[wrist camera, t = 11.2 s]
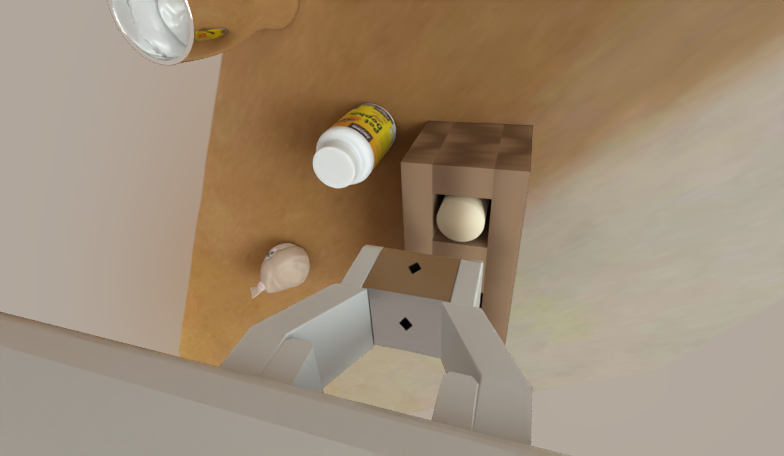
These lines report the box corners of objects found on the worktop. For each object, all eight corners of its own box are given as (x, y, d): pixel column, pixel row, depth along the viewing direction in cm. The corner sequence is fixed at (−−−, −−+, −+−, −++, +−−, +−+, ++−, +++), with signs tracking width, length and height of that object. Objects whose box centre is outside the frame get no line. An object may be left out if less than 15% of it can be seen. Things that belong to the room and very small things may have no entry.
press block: (532, 125, 38) (530, 171, 30) (510, 286, 49) (504, 351, 41) (428, 120, 41) (400, 162, 33) (429, 274, 52) (408, 333, 44)
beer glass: (224, -25, 39) (84, -14, 27) (275, -69, 35) (140, -78, 23) (266, 46, 41) (155, 85, 29) (317, 12, 38) (215, 39, 26)
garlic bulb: (270, 232, 56) (236, 268, 50) (312, 237, 54) (282, 274, 48) (281, 269, 59) (251, 307, 53) (321, 275, 58) (293, 315, 51)
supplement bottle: (403, 110, 41) (369, 150, 33) (391, 158, 44) (358, 205, 36) (352, 93, 41) (306, 128, 33) (344, 142, 45) (301, 185, 37)
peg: (496, 158, 39) (486, 203, 32) (492, 194, 42) (482, 244, 34) (455, 155, 40) (436, 199, 33) (453, 190, 43) (436, 238, 36)
